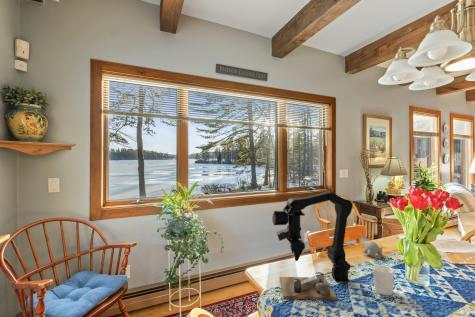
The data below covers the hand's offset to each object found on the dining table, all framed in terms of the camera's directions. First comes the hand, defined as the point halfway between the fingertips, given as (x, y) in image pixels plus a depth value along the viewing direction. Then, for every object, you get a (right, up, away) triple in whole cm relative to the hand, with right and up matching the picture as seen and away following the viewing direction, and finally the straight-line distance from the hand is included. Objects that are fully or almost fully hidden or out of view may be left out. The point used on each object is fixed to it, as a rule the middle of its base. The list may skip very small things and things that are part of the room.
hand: (294, 256), depth 111 cm
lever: (+5, -10, -7) cm, 14 cm away
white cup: (+37, -12, -9) cm, 40 cm away
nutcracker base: (+4, -12, -7) cm, 14 cm away
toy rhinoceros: (+56, -12, +29) cm, 64 cm away
